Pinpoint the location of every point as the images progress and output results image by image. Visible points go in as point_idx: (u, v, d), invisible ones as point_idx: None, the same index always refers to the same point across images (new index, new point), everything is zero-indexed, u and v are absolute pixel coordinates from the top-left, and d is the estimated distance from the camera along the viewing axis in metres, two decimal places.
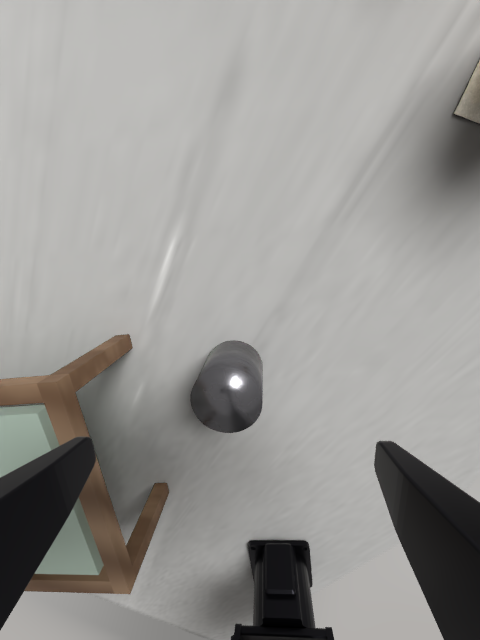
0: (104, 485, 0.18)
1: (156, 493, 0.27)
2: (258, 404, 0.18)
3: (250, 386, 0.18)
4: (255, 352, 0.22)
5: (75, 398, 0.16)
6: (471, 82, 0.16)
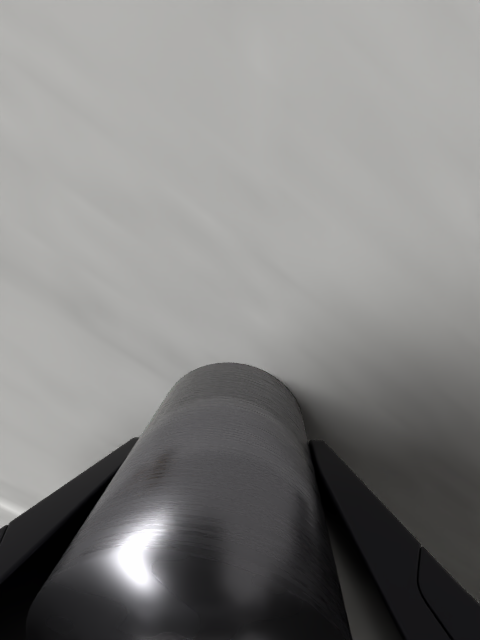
0: None
1: None
2: (192, 572, 0.03)
3: (92, 584, 0.03)
4: (180, 383, 0.08)
5: None
6: None
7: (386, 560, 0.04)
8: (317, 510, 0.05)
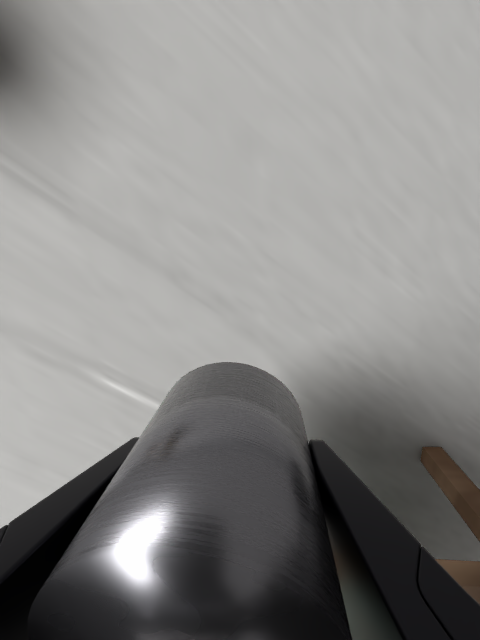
0: None
1: (431, 466, 0.18)
2: (192, 568, 0.03)
3: (94, 581, 0.04)
4: (180, 382, 0.08)
5: None
6: None
7: (386, 560, 0.04)
8: (316, 508, 0.05)
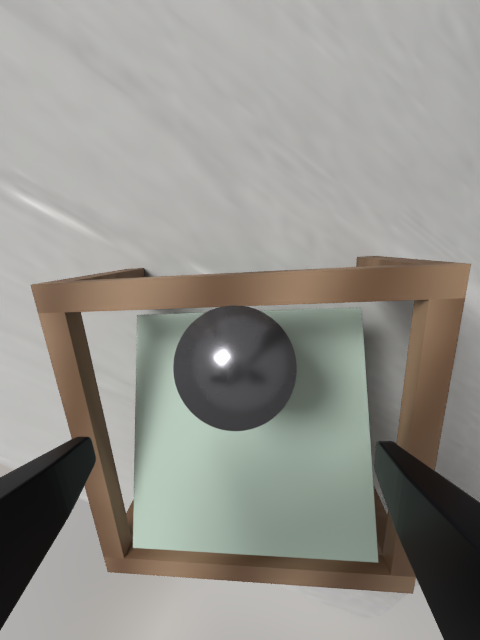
0: (224, 273, 0.12)
1: None
2: (240, 311, 0.11)
3: (206, 322, 0.11)
4: None
5: (78, 280, 0.12)
6: None
7: None
8: None
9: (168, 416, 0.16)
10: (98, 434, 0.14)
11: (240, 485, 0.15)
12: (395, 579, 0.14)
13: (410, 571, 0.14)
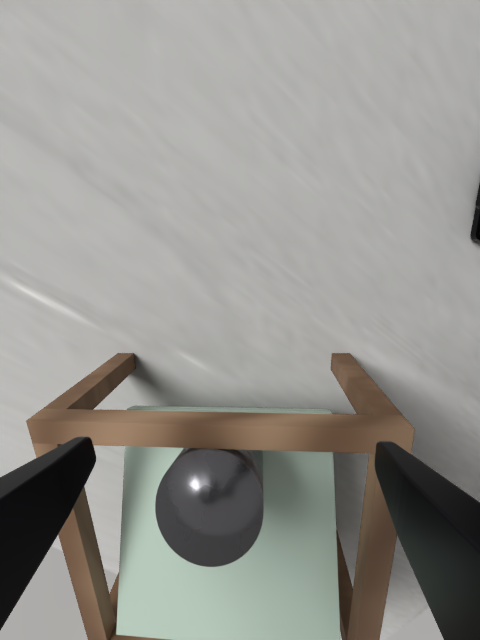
0: (203, 413, 0.13)
1: (335, 368, 0.19)
2: (215, 457, 0.12)
3: (185, 464, 0.12)
4: None
5: (70, 410, 0.13)
6: None
7: None
8: (257, 464, 0.13)
9: (153, 508, 0.17)
10: (86, 539, 0.15)
11: (217, 577, 0.17)
12: None
13: None
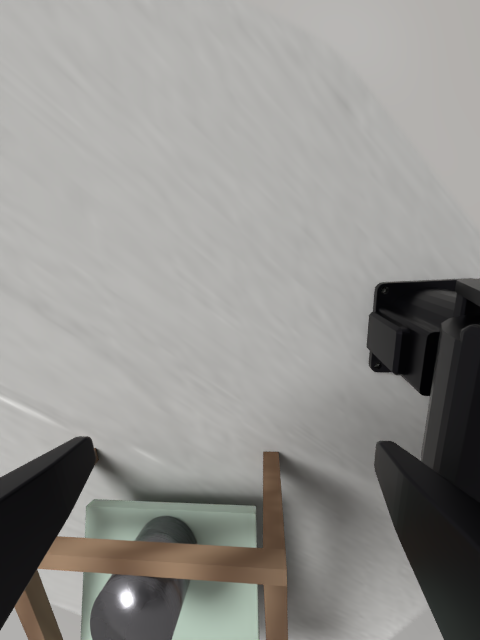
0: (129, 542, 0.16)
1: None
2: (136, 584, 0.15)
3: (113, 589, 0.15)
4: (146, 525, 0.20)
5: None
6: None
7: None
8: (177, 579, 0.17)
9: None
10: (46, 630, 0.18)
11: None
12: None
13: None
